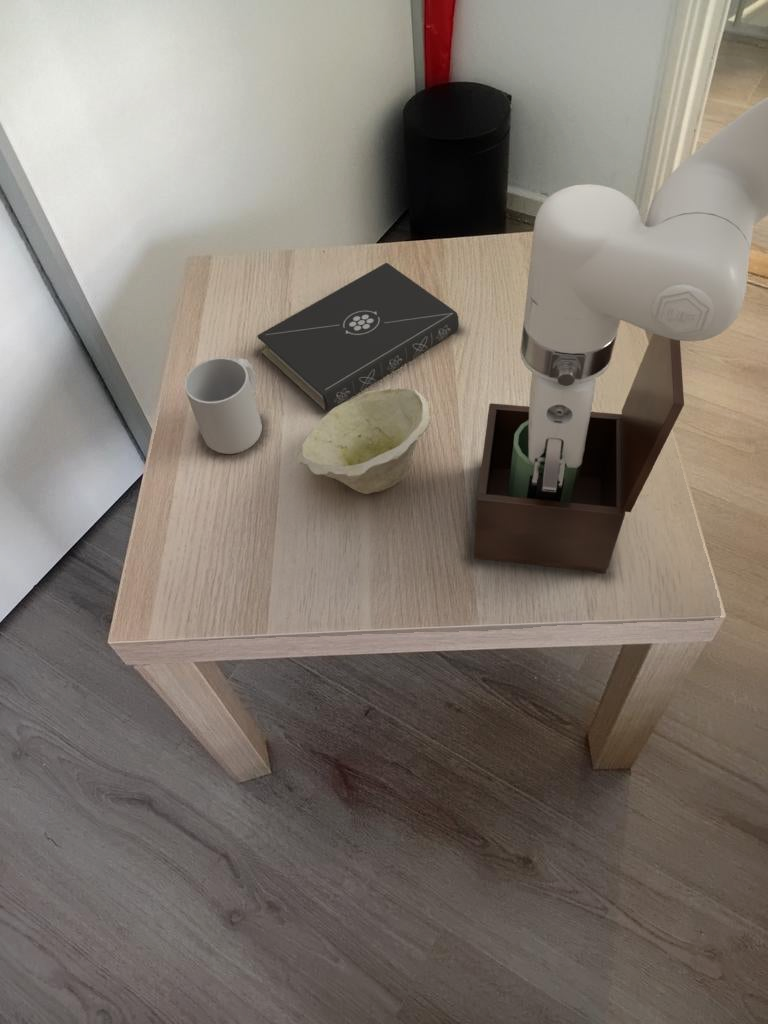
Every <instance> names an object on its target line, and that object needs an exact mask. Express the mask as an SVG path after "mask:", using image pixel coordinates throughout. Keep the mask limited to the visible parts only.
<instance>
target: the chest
mask: <svg viewBox="0 0 768 1024" xmlns="http://www.w3.org/2000/svg"><path fill="white" fill-rule="evenodd" d="M528 420H529V406H527V405H513V404H504V403H503V404H502V403H492V402H491V403H489V405H488V412H487V419H486V427H485V428H486V429H485V434H484V444H483V451H482V458H481V459H482V460H481V465H480V466H481V467H480V475H479V482H478V489H477V497H476V510H475V511H476V512H475V525H474V526H475V529H474V543H473V559H479V560H480V559H481V560H489V561H498V562H506V563H515V564H524V565H533V566H542V567H551V568H559V569H560V568H561V569H569V570H578V571H586V572H596V573H603V574H606V573H607V571H608V568H609V565H610V562H611V559H612V556H613V553H614V549H615V547H616V545H617V541H618V538H619V535H620V532H621V529H622V527H623V522H624V520H625V518H626V517H625V516H626V512H625V511H622V413H612V412H611V413H610V412H600V411H599V412H598V411H591V414H590V420H589V425H588V430H587V436H586V441H585V452H584V456H583V460H582V465H581V469H580V473H579V478H578V482H577V486H576V491H575V495H574V499H573V501H572V503H569V502H559V501H549V500H539V499H529V498H519V497H509V496H508V487H509V478H510V469H511V461H512V452H513V443H514V434H515V432H516V431H517V430H518V428H519V427H520V425H521V424H523V423H525V422H526V421H528Z"/></svg>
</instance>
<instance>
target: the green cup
mask: <svg viewBox="0 0 768 1024" xmlns="http://www.w3.org/2000/svg"><path fill="white" fill-rule="evenodd" d="M528 441H529V420H528V421H526V422H525V423H523V424H521V425H520V427H519V428H518V430H517V431H516V432H515V434H514V443H513V452H512V461H511V469H510V478H509V487H508V496H509V497H519V498H527V492H528V485H529V478H530V476H532V475H533V470H534V464H533V463H532V462H531V461H530V460H529V449H528ZM544 452H546V448H545V450H544ZM584 452H585V446H584ZM584 452H583V456H584ZM560 454H562V451H561V452H560ZM582 460H583V458H582ZM544 464H545V463H540V471H539V473H544ZM581 465H582V464H581ZM581 465H580V466H579V467H577V468H568V467H567V465H566V463H565V469H564V476H563V479H564V486H563V491H562V496H561V500H560V502H569V503H572V501H573V499H574V495H575V491H576V486H577V482H578V478H579V473H580V469H581Z"/></svg>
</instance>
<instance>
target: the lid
mask: <svg viewBox="0 0 768 1024" xmlns="http://www.w3.org/2000/svg"><path fill="white" fill-rule="evenodd" d="M681 349H682V348H681V341H680V340H674V339H670V338H666V337H662V336H660V335H657V334H654V333H652V334H651V337H650V340H649V343H648V344H647V346H646V350H645V351H644V355H643V357H642V359H641V361H640V364H639V366H638V369H637V372H636V374H635V376H634V379H633V381H632V384H631V387H630V389H629V392H628V394H627V396H626V399H625V401H624V404H623V406H622V408H621V414H622V511H625V513H632V510H633V509H634V507H635V505H636V502H637V500H638V499H639V497H640V494H641V492H642V491H643V489H644V487H645V485H646V483H647V480H648V479H649V476H650V474H651V472H652V470H653V468H654V466H655V464H656V462H657V460H658V458H659V456H660V454H661V453H662V450H663V448H664V446H665V444H666V443H667V441H668V438H669V436H670V434H671V432H672V430H673V428H674V426H675V424H676V422H677V421H678V418H679V416H680V414H681V412H682V410H683V408H684V406H685V397H684V396H685V394H684V382H683V381H684V379H683V365H682V351H681Z"/></svg>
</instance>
